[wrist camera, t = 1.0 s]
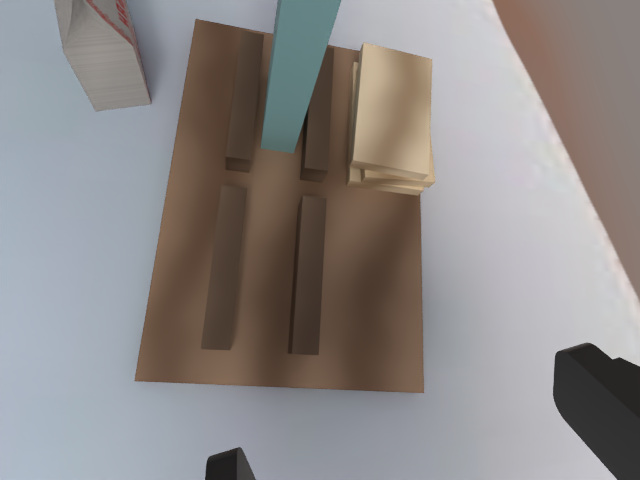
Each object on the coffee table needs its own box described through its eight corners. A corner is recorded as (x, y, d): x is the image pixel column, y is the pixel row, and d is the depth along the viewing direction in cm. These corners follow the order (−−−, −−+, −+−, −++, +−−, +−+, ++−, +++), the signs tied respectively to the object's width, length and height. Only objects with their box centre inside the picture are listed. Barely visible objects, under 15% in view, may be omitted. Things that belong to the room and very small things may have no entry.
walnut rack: (138, 380, 25) (126, 383, 22) (196, 28, 32) (193, -3, 29) (417, 391, 28) (438, 395, 25) (412, 70, 35) (428, 45, 33)
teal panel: (260, 148, 29) (291, -70, 14) (267, 77, 31) (302, -185, 16) (293, 153, 30) (357, -54, 15) (298, 82, 32) (361, -167, 16)
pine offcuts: (341, 186, 30) (352, 168, 27) (346, 68, 33) (356, 41, 30) (422, 197, 31) (442, 181, 28) (420, 82, 34) (437, 57, 31)
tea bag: (95, 111, 29) (30, -8, 19) (80, 30, 30) (11, -117, 21) (151, 104, 30) (114, -13, 20) (133, 26, 31) (91, -117, 22)
